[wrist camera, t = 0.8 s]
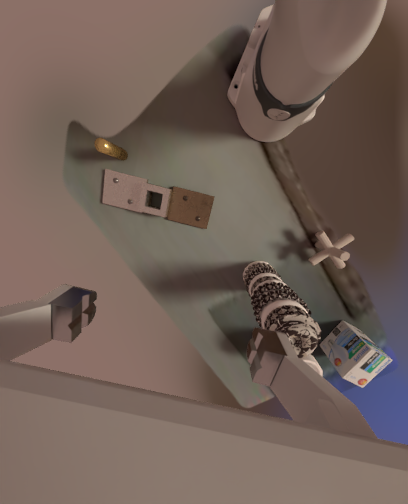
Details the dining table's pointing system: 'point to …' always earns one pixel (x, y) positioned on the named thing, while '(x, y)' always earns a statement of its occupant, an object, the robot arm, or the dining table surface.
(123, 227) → the dining table surface
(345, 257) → the pipe connector
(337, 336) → the light bulb box
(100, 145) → the brass pin
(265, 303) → the decorative candle
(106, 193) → the hinge
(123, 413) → the robot arm
